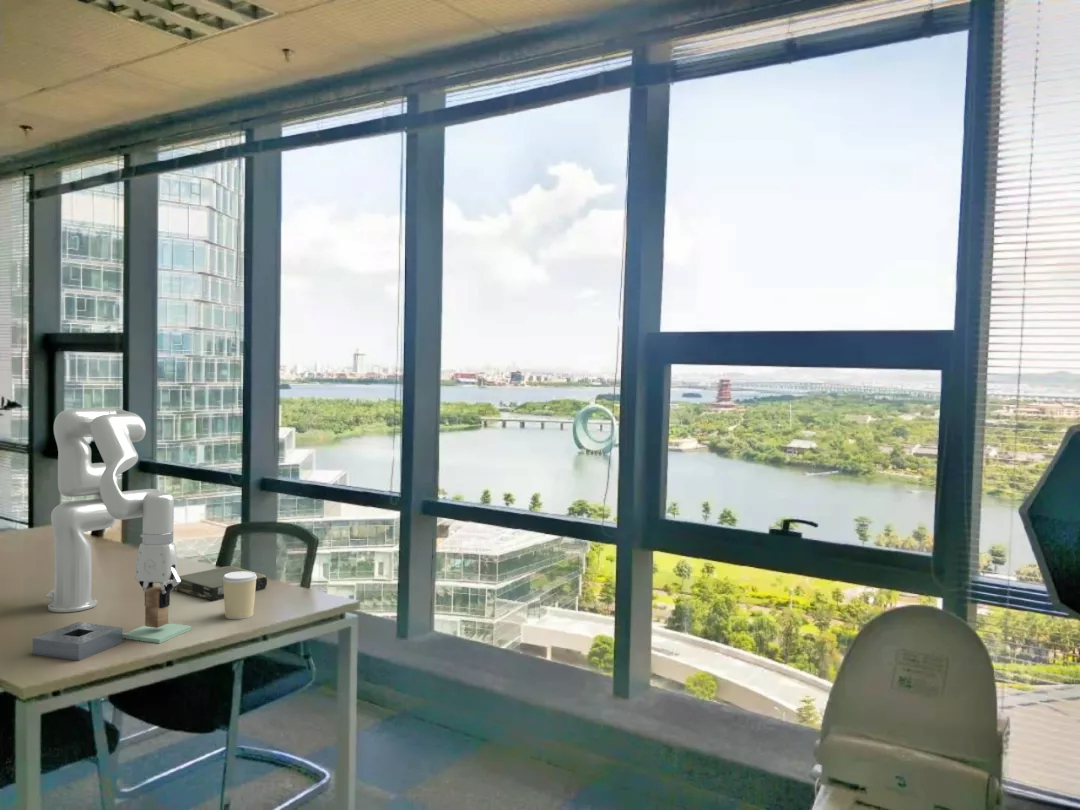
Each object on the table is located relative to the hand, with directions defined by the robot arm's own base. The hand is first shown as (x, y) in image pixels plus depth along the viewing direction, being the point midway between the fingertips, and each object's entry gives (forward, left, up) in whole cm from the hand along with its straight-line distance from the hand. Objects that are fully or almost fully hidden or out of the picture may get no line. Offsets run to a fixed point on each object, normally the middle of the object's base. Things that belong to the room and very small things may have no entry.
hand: (157, 605), depth 217 cm
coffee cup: (+10, +22, -8) cm, 25 cm away
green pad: (0, 0, -8) cm, 8 cm away
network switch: (-13, +44, -8) cm, 47 cm away
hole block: (-10, -16, -8) cm, 20 cm away
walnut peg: (0, 0, -5) cm, 5 cm away
